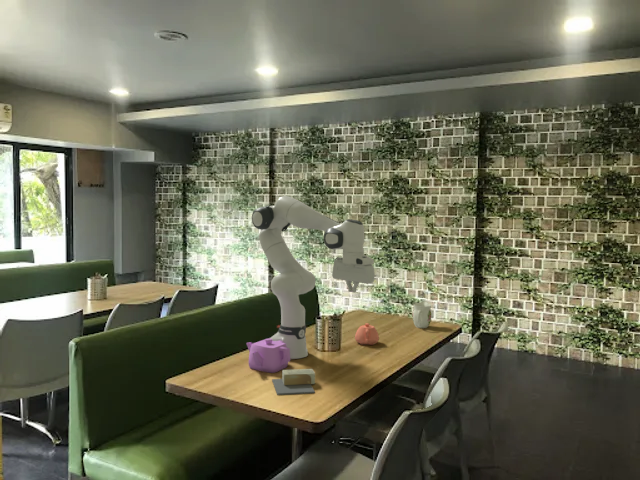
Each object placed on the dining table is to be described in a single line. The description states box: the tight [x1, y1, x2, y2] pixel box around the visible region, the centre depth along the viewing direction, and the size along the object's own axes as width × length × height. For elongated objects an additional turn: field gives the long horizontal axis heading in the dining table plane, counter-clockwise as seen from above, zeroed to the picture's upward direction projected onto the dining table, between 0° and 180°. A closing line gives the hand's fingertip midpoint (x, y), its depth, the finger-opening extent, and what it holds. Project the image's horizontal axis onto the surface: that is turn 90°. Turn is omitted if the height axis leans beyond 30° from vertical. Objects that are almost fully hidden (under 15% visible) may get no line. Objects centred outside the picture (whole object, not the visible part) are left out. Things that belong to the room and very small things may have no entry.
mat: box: [271, 378, 316, 396], centre depth 200 cm, size 14×16×1 cm
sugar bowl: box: [354, 322, 380, 346], centre depth 265 cm, size 12×14×10 cm
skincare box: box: [281, 368, 316, 385], centre depth 203 cm, size 6×4×12 cm
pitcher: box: [412, 301, 432, 329], centre depth 305 cm, size 11×18×14 cm, turn 157°
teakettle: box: [245, 337, 291, 374], centre depth 223 cm, size 17×17×12 cm
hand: (352, 291), depth 217 cm, fingers closed
